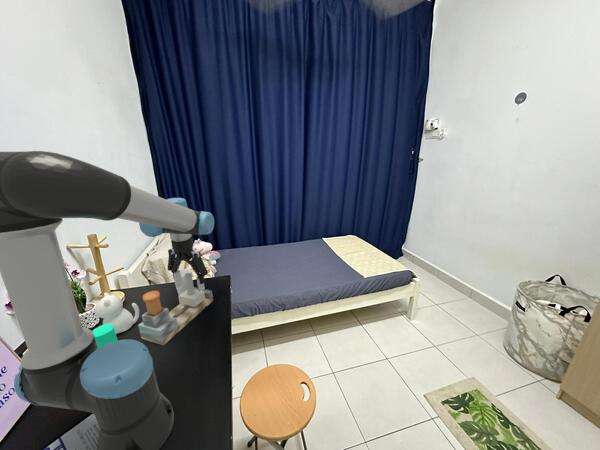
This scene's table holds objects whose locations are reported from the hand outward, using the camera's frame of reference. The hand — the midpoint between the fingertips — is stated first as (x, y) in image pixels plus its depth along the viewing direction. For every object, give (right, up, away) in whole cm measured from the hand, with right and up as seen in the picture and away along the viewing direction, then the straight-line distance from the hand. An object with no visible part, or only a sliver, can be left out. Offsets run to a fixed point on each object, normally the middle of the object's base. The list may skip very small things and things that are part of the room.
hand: (190, 287), depth 102 cm
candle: (-17, -17, -21) cm, 32 cm away
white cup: (-8, -6, +14) cm, 18 cm away
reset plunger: (-6, -5, -15) cm, 17 cm away
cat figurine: (-22, -13, -8) cm, 27 cm away
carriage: (0, -6, +2) cm, 6 cm away
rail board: (-2, -11, -3) cm, 12 cm away
